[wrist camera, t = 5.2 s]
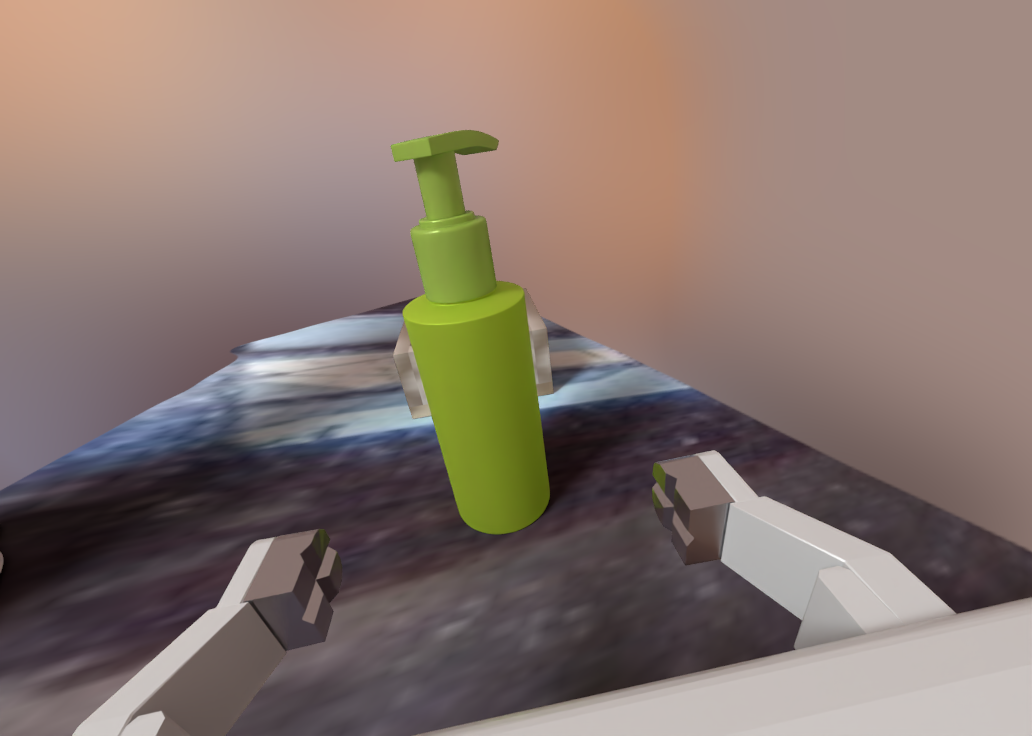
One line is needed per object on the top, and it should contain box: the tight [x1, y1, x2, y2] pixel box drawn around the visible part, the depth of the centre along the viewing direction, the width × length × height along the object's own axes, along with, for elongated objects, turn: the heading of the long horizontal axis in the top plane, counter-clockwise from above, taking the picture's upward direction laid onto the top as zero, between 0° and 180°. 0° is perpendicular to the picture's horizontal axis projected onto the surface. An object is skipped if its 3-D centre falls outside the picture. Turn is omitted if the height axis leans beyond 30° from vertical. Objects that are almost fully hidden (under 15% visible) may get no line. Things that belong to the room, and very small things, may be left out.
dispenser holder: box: [393, 288, 554, 419], centre depth 38 cm, size 12×11×6 cm
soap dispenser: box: [391, 130, 550, 534], centre depth 21 cm, size 6×7×20 cm
